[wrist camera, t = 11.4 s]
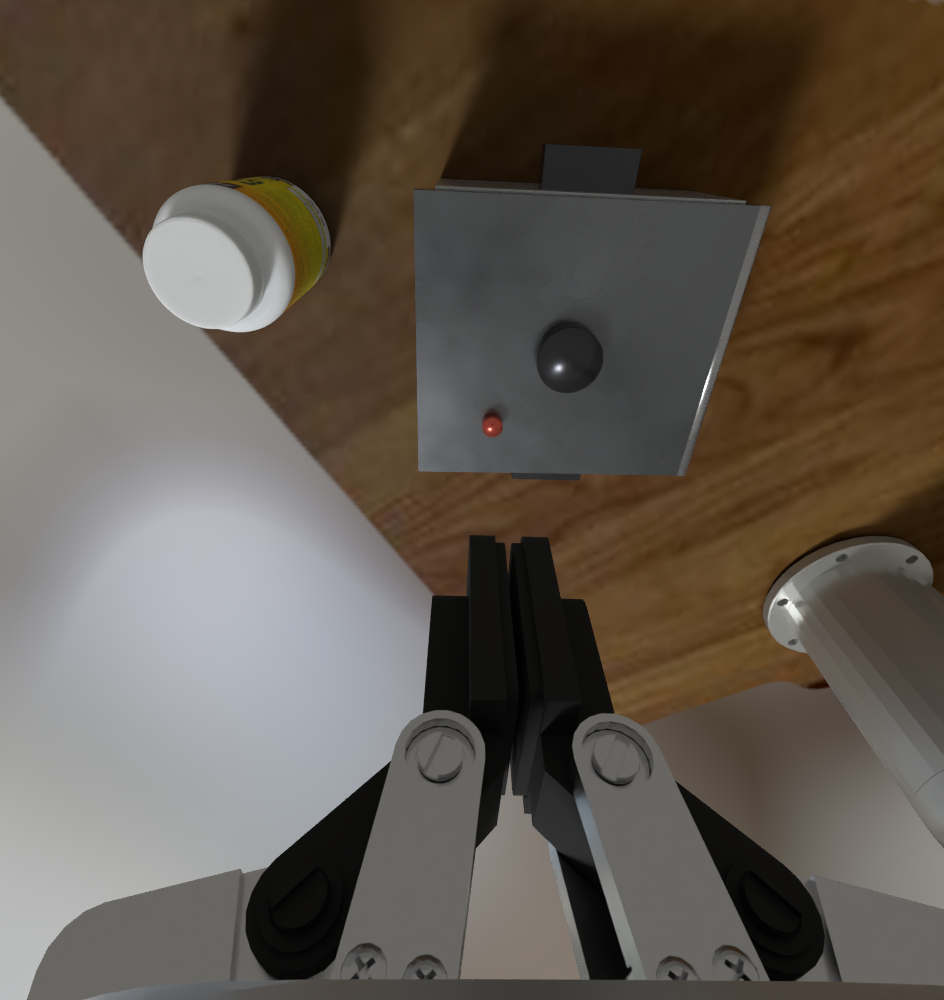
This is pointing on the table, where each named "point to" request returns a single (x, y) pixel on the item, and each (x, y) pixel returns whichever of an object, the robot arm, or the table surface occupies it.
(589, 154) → the cooker pot
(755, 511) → the table surface
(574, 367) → the lid
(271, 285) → the supplement bottle
